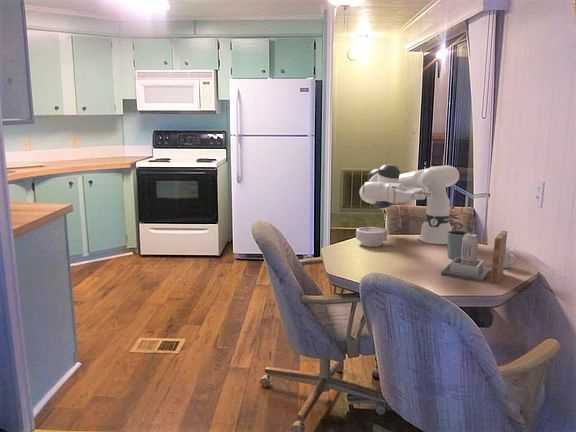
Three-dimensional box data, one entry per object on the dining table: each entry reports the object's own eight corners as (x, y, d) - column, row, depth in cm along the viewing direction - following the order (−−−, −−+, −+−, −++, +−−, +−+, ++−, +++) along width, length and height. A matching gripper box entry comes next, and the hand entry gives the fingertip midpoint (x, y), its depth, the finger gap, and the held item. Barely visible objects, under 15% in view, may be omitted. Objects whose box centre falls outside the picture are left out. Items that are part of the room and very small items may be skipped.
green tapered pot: (469, 261, 231) (472, 235, 229) (446, 260, 233) (448, 234, 231) (466, 255, 241) (469, 230, 239) (444, 254, 243) (446, 229, 241)
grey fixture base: (452, 265, 226) (452, 253, 225) (490, 271, 218) (491, 259, 217) (440, 275, 211) (441, 263, 210) (482, 282, 203) (483, 270, 202)
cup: (520, 270, 219) (522, 252, 218) (505, 272, 217) (507, 253, 215) (503, 263, 229) (505, 246, 228) (488, 264, 227) (489, 247, 225)
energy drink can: (457, 270, 213) (460, 234, 210) (463, 267, 217) (466, 232, 215) (471, 273, 209) (474, 237, 206) (477, 270, 214) (481, 234, 211)
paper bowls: (362, 239, 269) (363, 224, 267) (390, 243, 261) (391, 228, 259) (350, 245, 256) (351, 230, 254) (379, 250, 248) (380, 234, 247)
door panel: (497, 273, 215) (502, 230, 212) (502, 273, 214) (507, 231, 211) (490, 283, 202) (494, 238, 198) (496, 284, 201) (500, 239, 197)
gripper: (404, 197, 238) (434, 200, 231) (388, 203, 220) (420, 206, 213) (405, 183, 236) (435, 186, 229) (389, 188, 219) (421, 191, 212)
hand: (428, 196), depth 221 cm, fingers open, 8 cm apart
